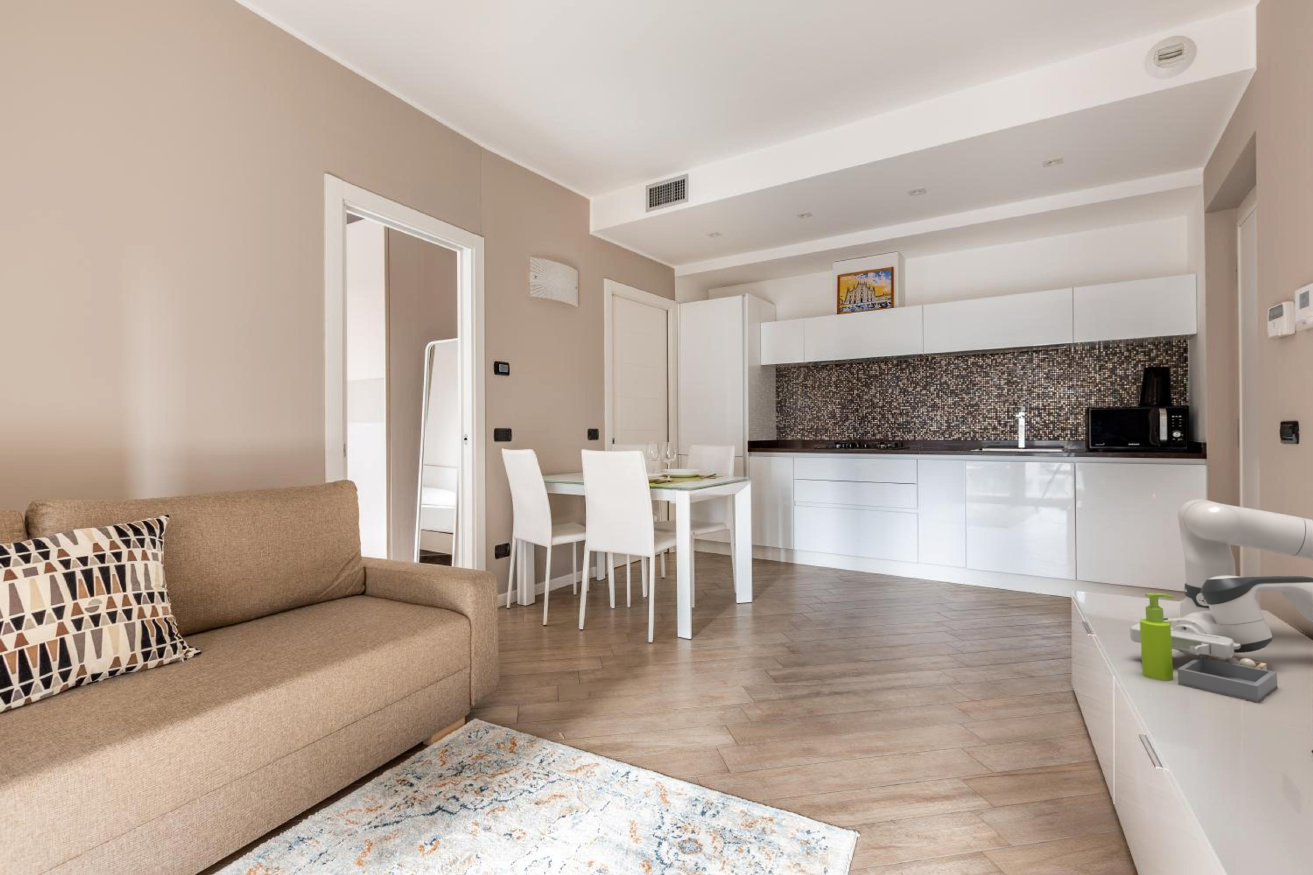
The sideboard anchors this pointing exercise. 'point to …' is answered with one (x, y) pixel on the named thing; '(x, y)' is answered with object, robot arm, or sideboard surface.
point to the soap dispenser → (1156, 641)
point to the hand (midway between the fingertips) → (1169, 646)
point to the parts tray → (1258, 664)
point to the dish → (1228, 679)
